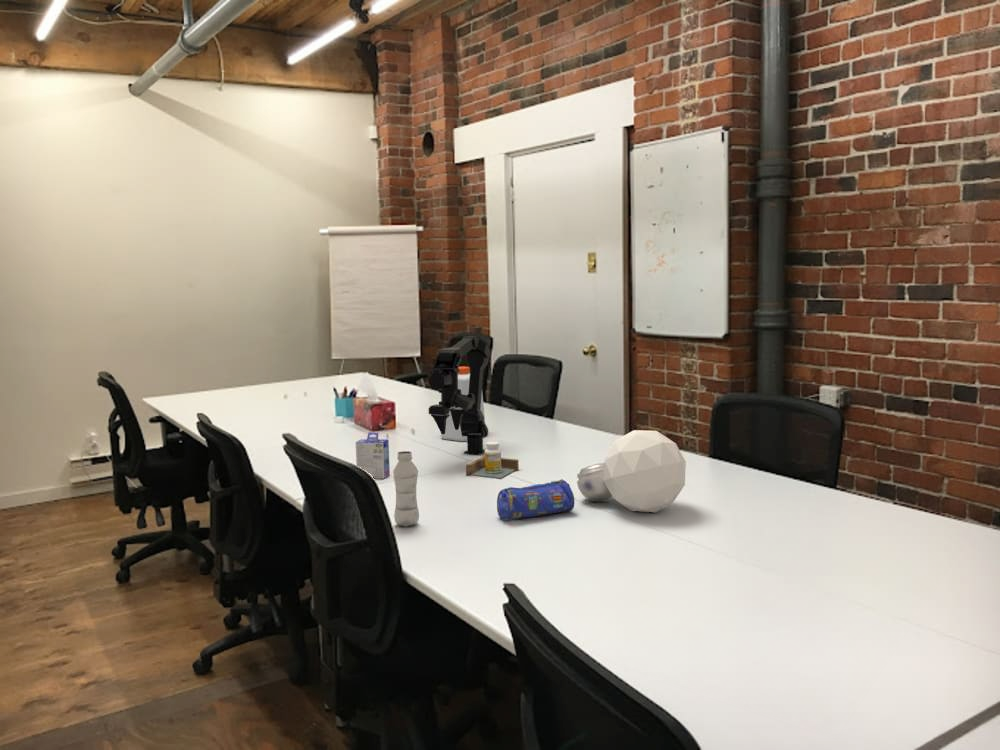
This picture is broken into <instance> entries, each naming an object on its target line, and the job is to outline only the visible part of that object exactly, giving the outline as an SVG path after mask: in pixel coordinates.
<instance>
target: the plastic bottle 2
mask: <svg viewBox="0 0 1000 750" xmlns="http://www.w3.org/2000/svg"><path fill="white" fill-rule="evenodd" d="M458 369H459V370H460V371H459V372H458V389H460V390H461V394H463V395H466V396H467V395H468V392H469V379H470V367H469V366H459V367H458ZM483 397H484V395H483V393H482V395H481V408H480V410H481V412H482V414H483V416H484V422H485V423H486V418H485V406H484V398H483ZM449 415H450V416H449V417H448V418H447V419H446V430H445V434H441V433H440V436H441V438H442V439H443V440H446V441H447V440H448V441H454V442H463V443H465V442H466V443H467V436H462V433H461V428H460V426H459V429H458V430H455V427H454V424H453V420H452V416H451V412H449Z"/></svg>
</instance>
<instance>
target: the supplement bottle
mask: <svg viewBox="0 0 1000 750" xmlns="http://www.w3.org/2000/svg"><path fill="white" fill-rule="evenodd" d="M484 456H485V472H486V473H499V472H501V458H502V451H501V449H500V448H499V441H488V442H486V449H485V452H484Z"/></svg>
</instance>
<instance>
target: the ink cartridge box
mask: <svg viewBox="0 0 1000 750" xmlns="http://www.w3.org/2000/svg"><path fill="white" fill-rule="evenodd" d="M372 435H374V436H372ZM389 445H390V443H389V439H388V438H387V439H386V438H382V439H381V438H379V432H368V433H367V437H366V438H362V439H359V440H357V441H356V442H355V457H356V467H357V466H359V467H361V468H362V469H364V470H366V471H367V472H368V473H370V474H371V475H372V476H373V477H374V478H373V479H380V480H381V479H385V478H388V477H389V476H391V475H390V474H391V472H390V469H391V468H390V447H389Z"/></svg>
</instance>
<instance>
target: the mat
mask: <svg viewBox="0 0 1000 750" xmlns="http://www.w3.org/2000/svg"><path fill="white" fill-rule="evenodd" d="M514 472H516V471H515V469H507V468H501V472H499V473H486V472H485V467H484V468H482V469H480V470H478V471H476V472H474V473H472V474H471V476H470V477H480V478H486V479H487V478H490V479H499V480H503V479H504V478H506V477H507V476H509V475H511V474H512V473H514Z"/></svg>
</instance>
